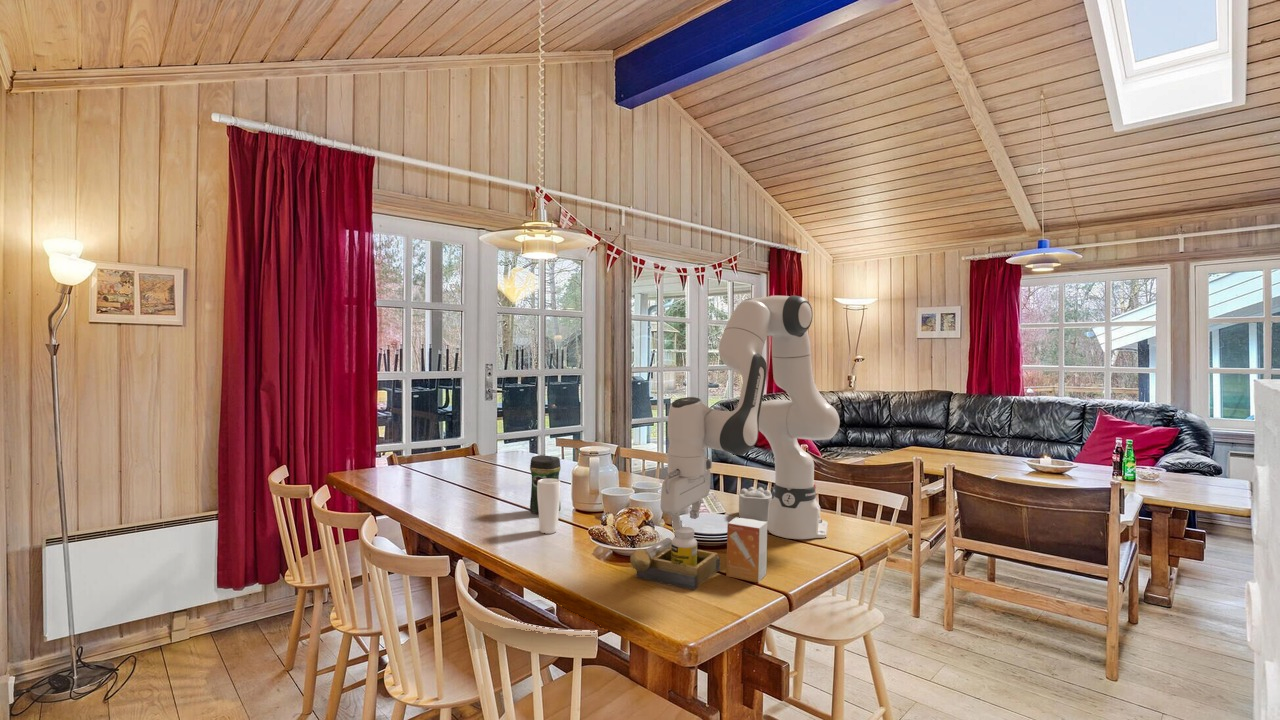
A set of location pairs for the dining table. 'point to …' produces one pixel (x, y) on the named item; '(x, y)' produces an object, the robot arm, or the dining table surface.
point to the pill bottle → (684, 547)
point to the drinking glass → (548, 504)
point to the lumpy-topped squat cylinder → (754, 503)
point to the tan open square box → (673, 566)
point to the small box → (746, 549)
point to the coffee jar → (542, 475)
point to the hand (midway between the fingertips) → (686, 523)
